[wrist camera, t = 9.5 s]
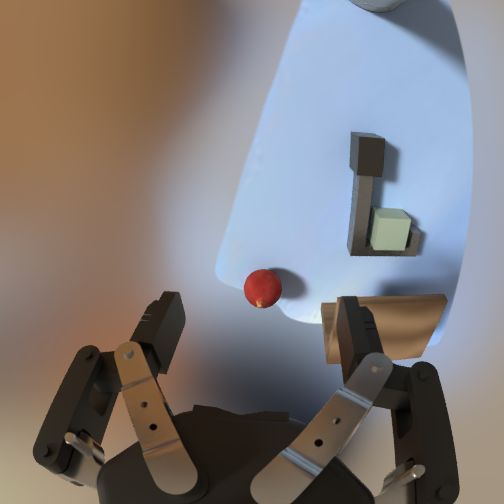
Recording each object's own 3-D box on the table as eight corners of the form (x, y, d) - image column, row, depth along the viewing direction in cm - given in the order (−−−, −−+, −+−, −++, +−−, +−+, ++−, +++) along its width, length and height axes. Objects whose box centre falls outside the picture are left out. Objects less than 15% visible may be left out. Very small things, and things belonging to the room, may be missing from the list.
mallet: (350, 131, 34) (359, 136, 30) (426, 140, 33) (440, 146, 29) (342, 245, 43) (347, 261, 39) (409, 246, 42) (418, 261, 38)
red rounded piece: (289, 272, 47) (289, 305, 40) (267, 293, 49) (264, 326, 42) (261, 253, 45) (256, 284, 38) (240, 276, 48) (232, 308, 41)
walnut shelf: (327, 251, 44) (338, 304, 33) (417, 252, 42) (447, 300, 31) (320, 309, 50) (326, 364, 39) (401, 307, 48) (420, 357, 37)
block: (371, 206, 39) (379, 218, 36) (401, 208, 39) (411, 219, 35) (367, 236, 42) (374, 249, 38) (396, 237, 41) (404, 250, 38)
